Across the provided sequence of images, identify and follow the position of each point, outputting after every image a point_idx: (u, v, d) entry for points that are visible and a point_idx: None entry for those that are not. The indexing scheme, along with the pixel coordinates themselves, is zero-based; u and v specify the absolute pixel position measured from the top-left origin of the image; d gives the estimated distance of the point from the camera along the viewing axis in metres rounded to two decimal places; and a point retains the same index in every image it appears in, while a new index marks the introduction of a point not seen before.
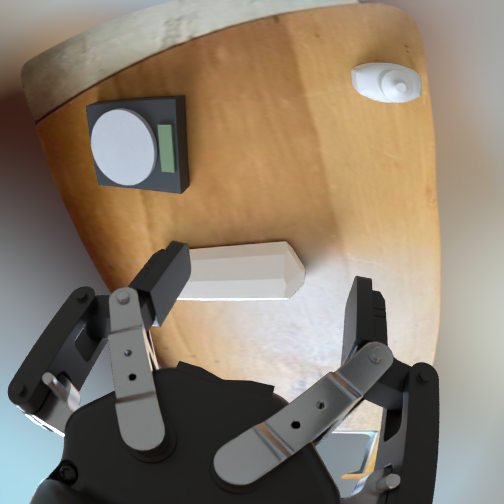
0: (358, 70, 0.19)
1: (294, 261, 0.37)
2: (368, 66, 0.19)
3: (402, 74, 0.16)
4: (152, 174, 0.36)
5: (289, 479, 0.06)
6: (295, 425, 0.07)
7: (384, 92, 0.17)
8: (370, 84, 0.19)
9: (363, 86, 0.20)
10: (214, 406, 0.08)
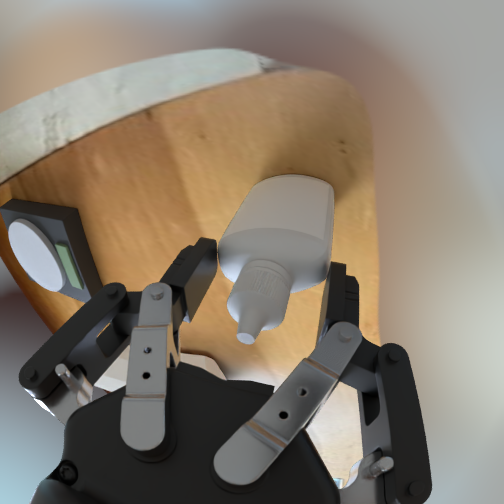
0: (220, 244, 0.15)
1: None
2: (232, 241, 0.14)
3: (261, 298, 0.12)
4: (67, 285, 0.32)
5: (289, 479, 0.06)
6: (295, 425, 0.07)
7: (234, 318, 0.13)
8: (233, 274, 0.15)
9: (225, 273, 0.15)
10: (214, 406, 0.08)
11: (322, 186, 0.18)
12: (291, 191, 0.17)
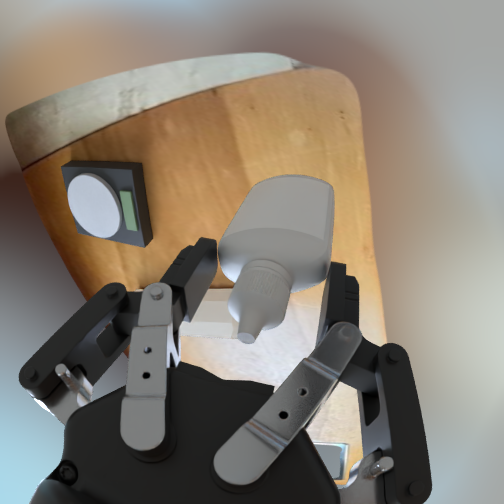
0: (220, 244, 0.15)
1: None
2: (233, 241, 0.14)
3: (261, 298, 0.12)
4: (120, 230, 0.41)
5: (289, 480, 0.06)
6: (295, 425, 0.07)
7: (234, 318, 0.13)
8: (234, 274, 0.15)
9: (226, 273, 0.15)
10: (214, 406, 0.08)
11: (322, 186, 0.18)
12: (291, 191, 0.17)
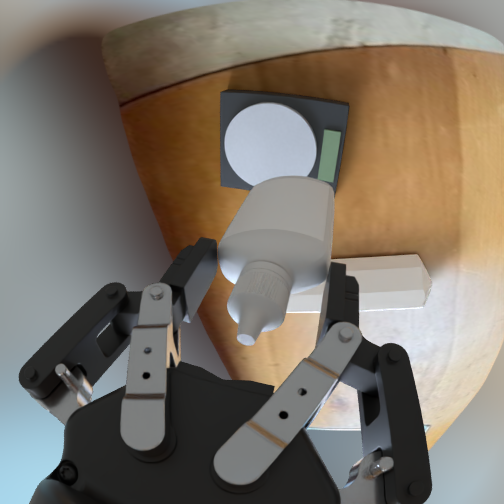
0: (220, 245, 0.15)
1: (427, 273, 0.36)
2: (233, 242, 0.14)
3: (261, 299, 0.12)
4: None
5: (289, 479, 0.06)
6: (295, 425, 0.07)
7: (234, 319, 0.13)
8: (234, 275, 0.15)
9: (226, 274, 0.15)
10: (214, 406, 0.08)
11: (322, 187, 0.18)
12: (291, 192, 0.17)
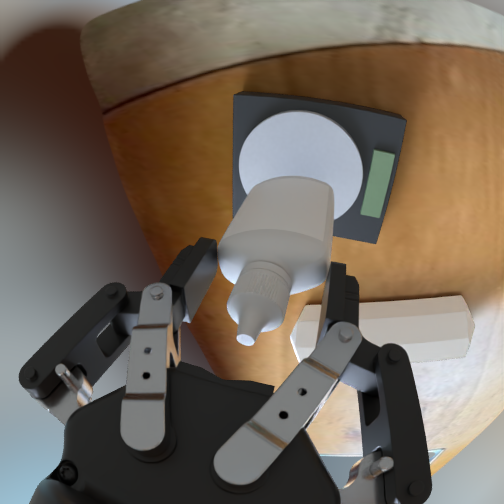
0: (220, 245, 0.15)
1: (471, 317, 0.28)
2: (232, 242, 0.14)
3: (261, 300, 0.12)
4: (341, 215, 0.26)
5: (289, 479, 0.06)
6: (295, 425, 0.07)
7: (234, 319, 0.13)
8: (233, 275, 0.15)
9: (225, 274, 0.15)
10: (214, 406, 0.08)
11: (322, 187, 0.18)
12: (291, 192, 0.17)
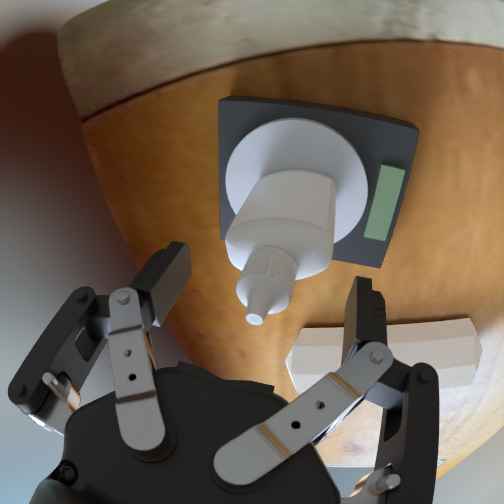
0: (228, 233, 0.16)
1: (479, 341, 0.25)
2: (240, 230, 0.15)
3: (269, 281, 0.12)
4: (342, 238, 0.23)
5: (289, 480, 0.06)
6: (295, 425, 0.07)
7: (242, 302, 0.14)
8: (241, 261, 0.15)
9: (233, 261, 0.16)
10: (214, 406, 0.08)
11: (324, 180, 0.19)
12: (295, 184, 0.18)
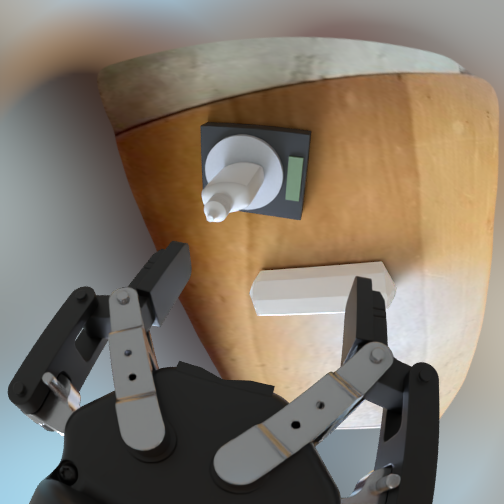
0: None
1: (390, 278, 0.42)
2: (208, 188, 0.32)
3: (216, 203, 0.29)
4: (273, 201, 0.40)
5: (289, 480, 0.06)
6: (295, 425, 0.07)
7: (207, 216, 0.30)
8: None
9: (205, 203, 0.33)
10: (214, 406, 0.08)
11: (255, 166, 0.36)
12: (238, 168, 0.35)
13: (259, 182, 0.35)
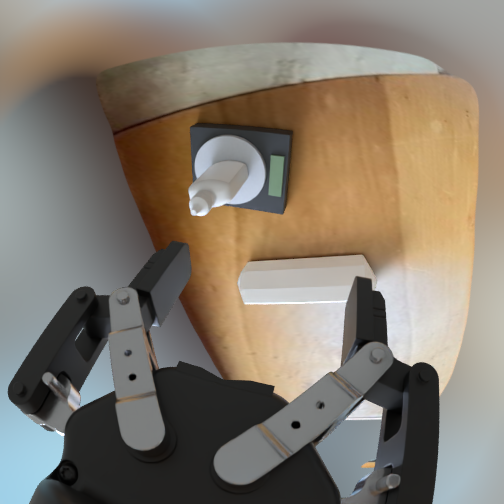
0: (189, 187, 0.36)
1: (370, 270, 0.45)
2: (194, 185, 0.35)
3: (199, 199, 0.32)
4: (257, 196, 0.43)
5: (289, 480, 0.06)
6: (295, 425, 0.07)
7: None
8: None
9: (191, 199, 0.36)
10: (214, 406, 0.08)
11: (239, 164, 0.39)
12: (222, 167, 0.38)
13: (242, 179, 0.38)
